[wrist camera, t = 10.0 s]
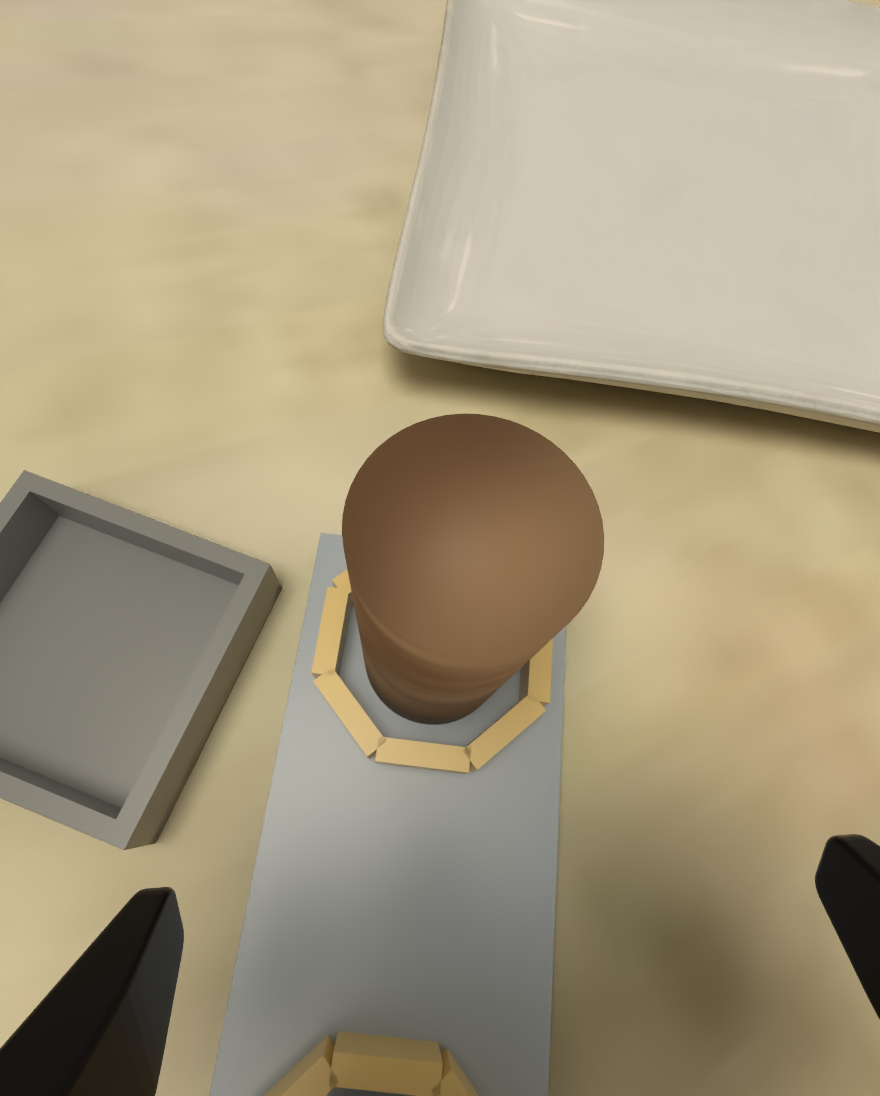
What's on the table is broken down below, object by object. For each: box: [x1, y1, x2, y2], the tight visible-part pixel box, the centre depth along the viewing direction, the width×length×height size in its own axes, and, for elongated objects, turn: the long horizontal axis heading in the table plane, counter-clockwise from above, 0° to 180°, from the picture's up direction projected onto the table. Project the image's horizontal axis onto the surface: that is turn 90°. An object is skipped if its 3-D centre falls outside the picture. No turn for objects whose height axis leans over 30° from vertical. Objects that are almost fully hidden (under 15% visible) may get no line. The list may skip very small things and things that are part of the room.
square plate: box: [383, 0, 880, 433], centre depth 30 cm, size 27×27×4 cm
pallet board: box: [209, 533, 566, 1096], centre depth 18 cm, size 22×9×3 cm, turn 174°
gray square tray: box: [0, 470, 282, 850], centre depth 20 cm, size 9×9×2 cm
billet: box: [342, 414, 604, 725], centre depth 16 cm, size 5×5×11 cm
